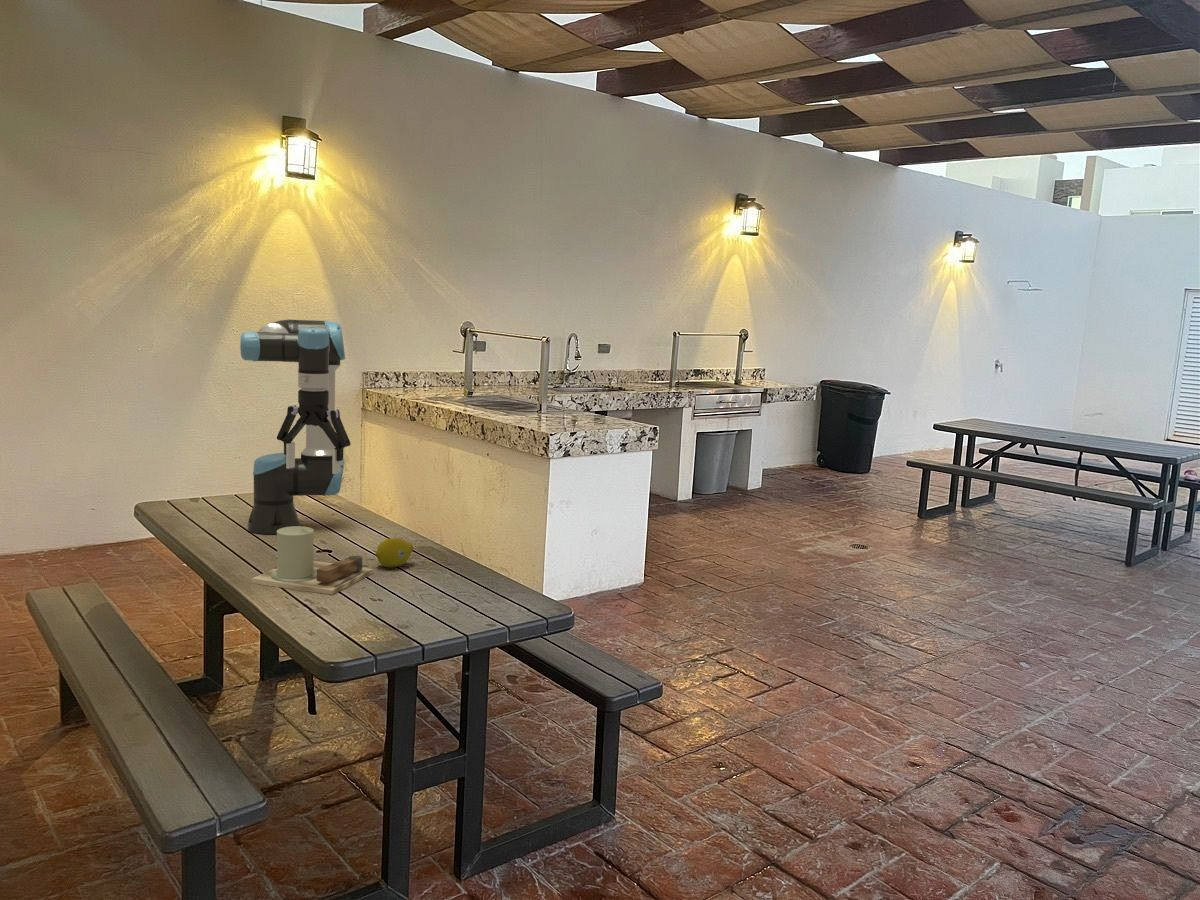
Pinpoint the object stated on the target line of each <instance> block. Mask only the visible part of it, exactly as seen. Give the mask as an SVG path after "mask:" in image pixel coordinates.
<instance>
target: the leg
mask: <svg viewBox="0 0 1200 900" xmlns="http://www.w3.org/2000/svg"><path fill="white" fill-rule="evenodd" d="M332 563H333V564H330V565H327V566H325V567H322V568H319V569H317V581H319V582H324V583H328V582H330V581H333V580H335V579H338V578H340V577H343V576H345V575H348V574H350V573H353V572H355V571H358V570H361V569H362V568H363V556H360V555H351V556H348V558H347V557H346V558H344V559H341V560H338V561H336V562H332Z"/></svg>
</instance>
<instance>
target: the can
mask: <svg viewBox="0 0 1200 900" xmlns="http://www.w3.org/2000/svg"><path fill="white" fill-rule="evenodd" d="M314 532H315V530H314V529H313V528H312V527H309V526H304V525H303V526H301V525H299V526H291V527H284V528H280V529H278V530H277V534H276V545H277V546H276V549H277V550H276V553H277V554H276V555H277V557H276V559H277V562H276V563H277V564H276V565H277V566H276V568H277V576H278V577H281V578H285V579H301V578H306V577H310V576H312V575H313V574H314V565H313V561H314V535H315V533H314Z"/></svg>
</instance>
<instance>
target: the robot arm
mask: <svg viewBox="0 0 1200 900" xmlns="http://www.w3.org/2000/svg"><path fill="white" fill-rule="evenodd" d="M240 335H241V336H240V343H239V344H240V345H239V346H240V357H241V359H243V360H244V361H250V362H251V361H252V362H284V363H285V362H286V363H298V366H297V367H298V368H297V369H298V371H297V375H298V377H297V378H298V379H297V380H298V381H297V382H298V383H297V386H298V388H299V390H298V391H297V393H298V394H297V403H298V405H299V406H297V405H289V406H288V407H287V412H286V416H285V418H284V420H283V422H282V424H281V427H280V428H279V431H278V433H277V436H276V439H277V440H278V441H281V442H282V443H283V452H277V453H275V452H274V453H269V454H265V455H262V456H259V457H258V458H256V459H255V460H254V461H253V472H252V475H253V505H252V509H251V511H250V515H249V517H248V521H247V531H249V532H250V533H254V534H258V535H260V534H261V535H277V530H278V529H280V528H284V527H291V526H300V519H299V517H298V514H297V511H296V507H295V503H294V496H296V497H297V496H299V497H300V496H302V497H303V496H305V497H307V496H323V497H327V496H336V495H338V494H339V493H340V491H341V489H342V488H341V487H342V482H343V481H342V480H343V474H344V465H345V458H344V449H345V448H346V447H350V446H351V444H352V442H351V441H350V438H349V436H348V434H347V431H346V429H345V426H344V425H343V422H342V419H341V415H340V414H341V412H340V409H336V371H337V370H338V369H339V368H340V367H341V361H343V360H345V359H346V353H345V347H344V338H343V336H344V335H343V330H342V326H341V324H340V323H339V322H338V321H329V320H308V319H283V320H281V319H280V320H276V321H272V322H269V323H266V324H265V325H263V326H261V327H260V328H259V330H258V331H244V332H242V333H241V334H240ZM297 415H298V416H299V418H298V419H297V420H296V422H295V424H294V425H293V423H294V421H295V419H296V417H297ZM292 425H293V426H292ZM303 428H305V447H304V449H303V450H302V451H301V452H300V457H298V458H297V457H296V442H294V440H295V438H296V437H297V436H298V434H299V433H300V432H301V431H302V430H303Z"/></svg>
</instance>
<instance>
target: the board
mask: <svg viewBox="0 0 1200 900" xmlns="http://www.w3.org/2000/svg"><path fill="white" fill-rule="evenodd" d="M333 563H334V562H325V561H318V560H313V565H314V574H313V575H312V576H310V577H306V578H301V579H285V578H281V577H278V576H277V567H275V568H273V569H270V570H268V571H265V572H263V573H262V574H259V575H257V576H254V577H251V583H252V584H256V585H263V586H269V587H276V588H283V589H284V588H285V589H288V590H296V591H302V592H309V593H315V594H323V595H329V596H333V595H335V594H337V593H339V592H341V591H342V589H343V590H344V588H345V589H346V587H347V588H348V587H351V586H352V585H354V584H356V583H358V582H359V581H362V580H363V579H365V578H366V577H369V576H370V575H373V574H374V569H373V568H367V567H362V569H361V570H358V571H355V572H353V573H350V574H348V575H345V576H343V577H340V578H338V579H335V580H333V581H330V582H328V583H324V582H319V581H317V569H319V568H322V567H325V566H327V565H330V564H333ZM357 581H358V582H357Z"/></svg>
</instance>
